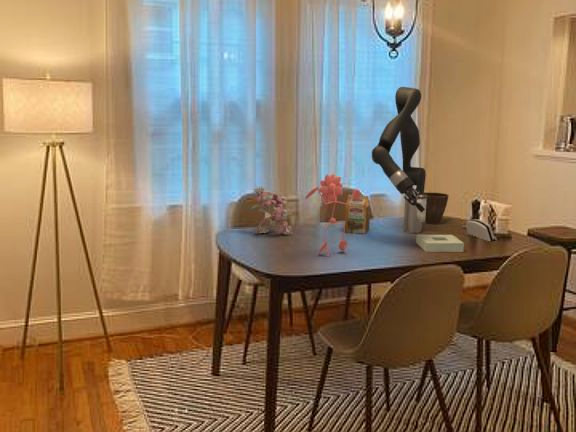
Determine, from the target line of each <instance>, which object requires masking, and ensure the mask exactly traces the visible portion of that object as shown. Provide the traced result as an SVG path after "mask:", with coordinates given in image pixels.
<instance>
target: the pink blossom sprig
mask: <svg viewBox="0 0 576 432" xmlns="http://www.w3.org/2000/svg"><path fill="white" fill-rule="evenodd" d="M341 180H342V178H341V176H340V175H339V176H336V175H335V174H334V173H332V174H330V175H329V174H325V175H324V179H321V180H320V183H319V184H320V186H321V187H320V188H319V186H316V187H314V188H312V189H311V191H309V192H308V193H307V194H306V196H305V197H304V200H307V199H309V198H310V197H312V195H314V194H315V193H316V192H317V191H318V194H319V195H320V198H321V201H322V202H323V204H324V205H329V204H333V203H334V204H333V207H332V213H331V218H330V219H329V221H328V223H327V225H326V226H325V228H324V230H326V229H327V228H328V226H329V224H331V225H334V224H336V223H337V224H339V225H340V226H343V233H342V240H340V242H339V244H338V249H340V250H341V251H342V252H343V251H344V254H345V255H347V250H346V247H347V245H348V243H347V240H345V237H344V236H345V224H342V223H340V222H338V221H337V220H336V218H334V217H333V216H334V213H335V208H336V205H337V203H338V204H342V205H345V206H346V205H348V204H349V202H350V201H351V199H352V198H354V199H356V200H357V199H358V198H359V197H360V195H361V193H362V192H361V191H360V190H359V189H357V188H356V189H354V190H352V192H351V195H352V197H351V198H350V200H349V202H348V203H347V202H346V203H347V204H346V203H345V202H342V201H338V196H343V193H344V191H343V189H342V188H343V186H344V185H343V183H342V182H341ZM361 196H362V195H361ZM325 199H326V201H327V202H325ZM323 239H324V241H323V242H324V243H323V245H322V246H320V248H321V249H319V251H318V255H320V254H321V253H322V252H323V251H324V249H325V251H326V255H327V257H328V256H329V257H330V255H329V250H328V247H327V245H328V241H326V238H323Z"/></svg>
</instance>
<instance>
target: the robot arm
mask: <svg viewBox="0 0 576 432" xmlns="http://www.w3.org/2000/svg"><path fill="white" fill-rule="evenodd" d="M394 97H395V98H394V99H395V105H396V110H397V115H396V116H394V117H393V118H392V119H391V120H390V121H389V122H388V123H387V125H385V127H384V129H383V131H382V133H381V135H380V138H379V140H378V141H379V142H378V143H377V145H376V146H374V148H373V149H372V150H371V159H372V161H373V163H374V164H376V165H379V166H380V167H381V169H382V172H383V173H384V175H386V177H387V178H388V179H389V181H390V182H391V184H392V185H393V186H394V188H396V191H398V192H399V194H400V195H404V196H403V198H404V211H403V212H404V214H403V232H404V233H410V234H418V233H419V234H420V233H422V231H423V230H422V229H423V222H417V221H416V207H417V208H418V210H419V211H420V212H423V211H424V210H425V209H424V208H423V206H422V205H421V204H420V203H419V201H418V200H417V199H418V198H417V196H416V195H418V194H424V193H425V185H426V176H427V175H426V173H427V172H426V169H425V168H424V167H414V166H412V164H411V163H412V159H413V156H414V155H415V154H416V152H417V151H418V149H419V147H420V144H421V137H420V130H419V128H418V125H417V123H416V122H415V120H414V119H413V118H412V115H413V114H414V112H415V110H416V109H417V108H418V106H419V104H420V102H421V101H422V92H421V90H420V89H418V88H415V87H407V86H400V87H398V88H397V90H396V91H395V95H394ZM399 134H400V135H399ZM398 136H399V138H400V145H401V152H402V155H401V156H402V168H401V167H400V166H399V164H397V163H396V162H395V160H394V158H393V157H392V155H391V154H390V152H391V150H392V148H393V145H394V144H395V142H396V140H397V138H398ZM414 186H416V187H415V188H414ZM428 208H429V207H428V206H427V205H426V210H427V209H428Z"/></svg>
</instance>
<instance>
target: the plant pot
mask: <svg viewBox="0 0 576 432" xmlns="http://www.w3.org/2000/svg"><path fill="white" fill-rule="evenodd" d="M424 195H427V199H426V205H427V206H428V207H429V208H428V209H427V210H426V219H425V223H427V224H429V225H430V224H431V225H439V224H440V223H441V221H442V218H443V216H444V214H445V211H446V209H447V205H448V200H449V194H447V193H442V192H441V193H440V192H424Z"/></svg>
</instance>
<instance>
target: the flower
mask: <svg viewBox="0 0 576 432" xmlns="http://www.w3.org/2000/svg"><path fill="white" fill-rule="evenodd" d="M265 190H266V189H265V187H263V186H259V187H258V186H255V188H254V189H253V193H254V194H255V197H254V203H261V204H254V205H253V206H252V208H251V209H256V208H259V210H258V212H263V213H262V216H261V219H260V222H259V223H258V226H257V227H256V229H255V230H254V232H253V233H256V234H261V233H267V232H268V233H269V232H270V230H269V229H268V228H270V227H276V226H277V222H278V223H281V222H282V225H283V226H282V225H280V224H278V231H277V233H278V234H282V233H283V234H284V235H285V234H286V235H285V236H288V235H290V233H291V234H292V235H293V234H294V232H291V231H292V229H293V226H291V225H289V226H288V221H286V220H287V219H288V217H290V215H292V214H293V213H292V212H291V211H290V209H289V207H287V206H285V205H287V203H288V198H287V196H284V195H283V193H280V194H279V195H278V194H277V193H271V194H270V193H269V192H268V191H265ZM262 201H263V202H262ZM271 209H272V210H273V212H271ZM270 217H271V218H270ZM284 219H285V220H284ZM266 221H268V222H269V224H268V225H267V226H265V227H262V225H264V223H265V222H266ZM268 233H267V234H268ZM287 234H288V235H287Z"/></svg>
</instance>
